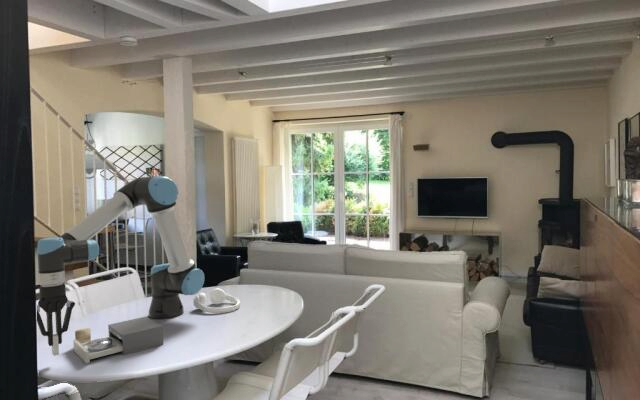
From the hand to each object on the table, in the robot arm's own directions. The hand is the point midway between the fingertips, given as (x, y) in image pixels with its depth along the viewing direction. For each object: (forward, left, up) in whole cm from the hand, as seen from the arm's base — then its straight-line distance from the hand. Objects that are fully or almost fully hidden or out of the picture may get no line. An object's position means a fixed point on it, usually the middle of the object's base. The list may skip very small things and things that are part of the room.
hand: (55, 354), depth 151 cm
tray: (0, +14, -3) cm, 14 cm away
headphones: (-21, +72, -4) cm, 75 cm away
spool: (-12, +11, -3) cm, 17 cm away
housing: (0, +26, -3) cm, 26 cm away
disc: (0, +14, -2) cm, 14 cm away
